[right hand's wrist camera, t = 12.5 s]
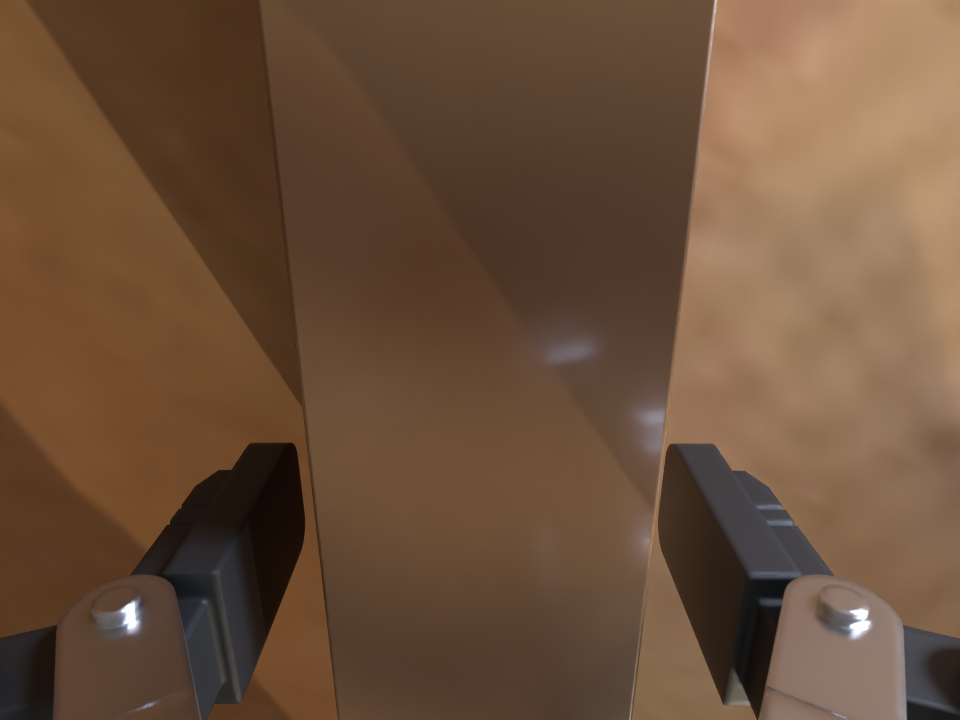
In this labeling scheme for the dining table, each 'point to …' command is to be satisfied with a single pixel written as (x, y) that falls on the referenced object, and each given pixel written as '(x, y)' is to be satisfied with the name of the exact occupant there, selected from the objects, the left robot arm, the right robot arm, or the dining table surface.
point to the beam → (486, 333)
